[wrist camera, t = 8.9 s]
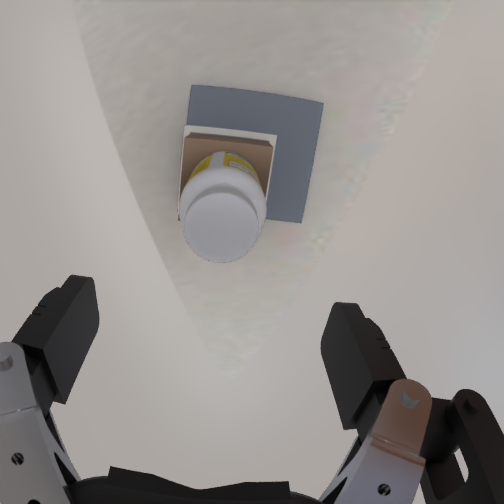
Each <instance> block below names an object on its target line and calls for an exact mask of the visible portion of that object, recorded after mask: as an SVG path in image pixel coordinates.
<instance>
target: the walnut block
mask: <svg viewBox="0 0 504 504" xmlns="http://www.w3.org/2000/svg"><path fill="white" fill-rule="evenodd" d="M273 148H274V147H273V146H272V145H271V144H270V143H269V142H267V141H259V140H252V139H244V138H235V137H226V136H217V135H206V134H195V133H191V134H189V135H188V136H186V137H185V139H184V149H183V160H182V172H181V185H180V197H181V194H182V191H183V189H184V187H185V185H186V183H187V181H188V180H189V178H190V176H191V174H192V172H193V170H194V168H195V167H196V166H197V164H198V163H199V162H200V161H201V160H202V159H203V158H205V157H206V156H208V155H210V154H212V153H215V152H221V151H228V152H234V153H237V154H239V155H241V156H243V157H244V158H246V159H247V160H248V161H249V162H250V163H251V164H252V166H253V167H254V169H255V171H256V173H257V176H258V178H259V181H260V184H261V187H262V190H263V193H264V196H265V198H266V192H267V186H268V179H269V173H270V167H271V160H272V154H273ZM179 201H180V199H179ZM178 220H179V221H180V217H179V215H178Z"/></svg>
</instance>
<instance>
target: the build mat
mask: <svg viewBox="0 0 504 504" xmlns="http://www.w3.org/2000/svg"><path fill="white" fill-rule="evenodd" d="M323 104H324V103H320V102H315V101H310V100H305V99H300V98H295V97H289V96H283V95H277V94H271V93H264V92H257V91H250V90H242V89H233V88H224V87H213V86H201V85H192V86H191V94H190V102H189V110H188V119H187V125H184V134H183V144H182V155H181V166H180V179H179V192H178V208H177V212H179V199H180V185H181V172H182V160H183V149H184V139H185V137H186V136H188V135H189V134H191V133H195V134H206V135H217V136H226V137H235V138H244V139H252V140H259V141H267V142H269V143H270V144H271V145H272V146H273V147H274V148H273V154H272V160H271V167H270V173H269V179H268V186H267V192H266V198H265V200H266V207H267V212H266V219H270V220H279V221H287V222H295V223H302V218H303V213H304V208H305V203H306V198H307V193H308V187H309V182H310V177H311V172H312V166H313V161H314V156H315V150H316V145H317V139H318V133H319V128H320V122H321V116H322V110H323Z"/></svg>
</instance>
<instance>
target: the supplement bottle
mask: <svg viewBox="0 0 504 504" xmlns="http://www.w3.org/2000/svg"><path fill="white" fill-rule="evenodd" d="M266 212H267V207H266V200H265V196H264V193H263V190H262V187H261V184H260V181H259V178H258V176H257V173H256V171H255V169H254V167H253V166H252V164H251V163H250V162H249V161H248V160H247V159H246V158H244V157H243V156H241V155H239V154H237V153H234V152H228V151H221V152H215V153H212V154H210V155H208V156H206V157H205V158H203V159H202V160H201V161H200V162H199V163H198V164H197V166H196V167H195V168H194V170H193V172H192V174H191V176H190V178H189V180H188V181H187V183H186V185H185V187H184V189H183V191H182V194H181V197H180V201H179V217H180V221H181V224H182V227H183V229H184V235H185V239H186V241H187V243H188V245H189V246H190V248H191V249H192V250H193V251H194V252H195V253H196V254H197V255H199V256H200V257H202V258H204V259H206V260H208V261H212V262H218V263H225V262H231V261H234V260H237V259H239V258H241V257H243V256H244V255H245V254H247V253H248V252H249V251H250V250H251V249H252V247H253V246H254V244H255V242H256V240H257V237H258V234H259V233H260V231H261V229H262V227H263V225H264V222H265V219H266Z"/></svg>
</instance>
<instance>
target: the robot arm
mask: <svg viewBox="0 0 504 504" xmlns="http://www.w3.org/2000/svg"><path fill="white" fill-rule="evenodd" d="M98 327H99V311H98V305H97V298H96V291H95V284H94V280H93V278H91V277H85V276H77V275H70V276H69V278H68V279H67V280H66V281H65V283H64V284H63V285H62V287H61V288H59V287H56V288H55V289H53V290H52V291H50V292H49V293H47V294H46V295H45V296H44V297H43V298H42V300H41V301H40V302H39V304H38V306H37V307H35V309H34V310H33V312H32V314H30V316H29V317H28V318H27V320H26V321H25V322H24V324H23V325H22V327H21V328H20V330H19V331H18V332H17V334H16V335H15V337H14V338H13V340H12V341H11V342H1V343H0V503H1V504H412V502H413V500H414V497H415V494H416V491H417V488H418V485H419V482H420V484H421V488H422V492H423V495H424V499H425V502H426V504H504V434H503V432H502V431H501V429H500V427H499V425H498V423H497V421H496V419H495V417H494V415H493V413H492V411H491V409H490V408H489V406H488V404H487V402H486V400H485V399H484V398H483V397H482V396H481V395H480V394H478V393H477V392H475V391H473V390H470V389H462V390H460V391H458V392H457V393H456V395H455V396H454V397H453V399H452V400H446V399H439V398H433V397H431V395H430V393H429V391H428V390H427V389H426V388H425V387H424V386H423V385H421V384H420V383H418V382H416V381H414V380H411V379H407V378H406V376H405V374H404V372H403V370H402V368H401V366H400V364H399V362H398V360H397V358H396V356H395V355H394V353H393V351H392V349H390V345H389V343H388V342H387V340H386V338H385V336H384V334H383V332H382V331H381V329H380V328H379V326H377V325H376V324H375V323H374V322H373V321H372V320H371V319H370V318H365V316H364V315H363V313H362V311H361V309H360V307H359V305H358V304H356V303H342V302H336V303H334V305H333V306H332V309H331V312H330V315H329V318H328V321H327V324H326V327H325V330H324V333H323V336H322V340H321V355H322V358H323V361H324V364H325V368H326V371H327V374H328V378H329V381H330V384H331V388H332V391H333V395H334V398H335V401H336V404H337V408H338V412H339V415H340V418H341V422H342V425H343V429H344V430H348V429H357V431H358V436H357V437H356V439H355V440H354V442H353V444H352V446H351V448H350V450H349V452H348V454H347V455H346V457H345V459H344V461H343V463H342V464H341V466H340V468H339V470H338V471H337V473H336V475H335V477H334V478H333V480H332V482H331V483H330V484H329V486H328V487H327V489H326V490H325V491H324V493H323V494H322V495H321V497H320V498H319V500H317V499H315V498H312V497H310V496H307V495H304V494H300V493H297V492H292V491H290V489H289V482H288V481H283V482H243V483H238V484H233V485H227V486H221V487H215V488H209V489H193V488H190V487H187V486H184V485H181V484H178V483H175V482H172V481H169V480H167V479H164V478H161V477H158V476H156V475H153V474H148V473H142V472H137V471H131V470H126V469H121V468H116V467H112V466H110V470H109V474H108V476H99V477H92V478H87V479H83V480H81V478H80V477H79V475H78V473H77V471H76V470H75V468H74V466H73V464H72V463H71V460H70V458H69V456H68V454H67V452H66V449H65V447H64V444H63V442H62V439H61V437H60V434H59V432H58V430H57V426H56V424H55V421H54V418H53V415H52V413H51V411H50V407H51V405H52V402H53V401H54V402H58V403H61V404H66V401H67V399H68V396H69V394H70V392H71V389H72V387H73V384H74V382H75V380H76V378H77V375H78V373H79V371H80V368H81V366H82V364H83V362H84V359H85V357H86V355H87V353H88V351H89V348H90V346H91V344H92V342H93V340H94V338H95V336H96V333H97V331H98ZM459 448H460V450H461V452H462V455H463V457H464V460H465V462H466V465H467V468H468V472H469V474H468V479H467V481H466V482H465V481H464V478H463V476H462V473H461V470H460V468H459V465H458V462H457V460H456V457H455V454H454V453H455V452H456V451H457V450H458V449H459Z"/></svg>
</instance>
